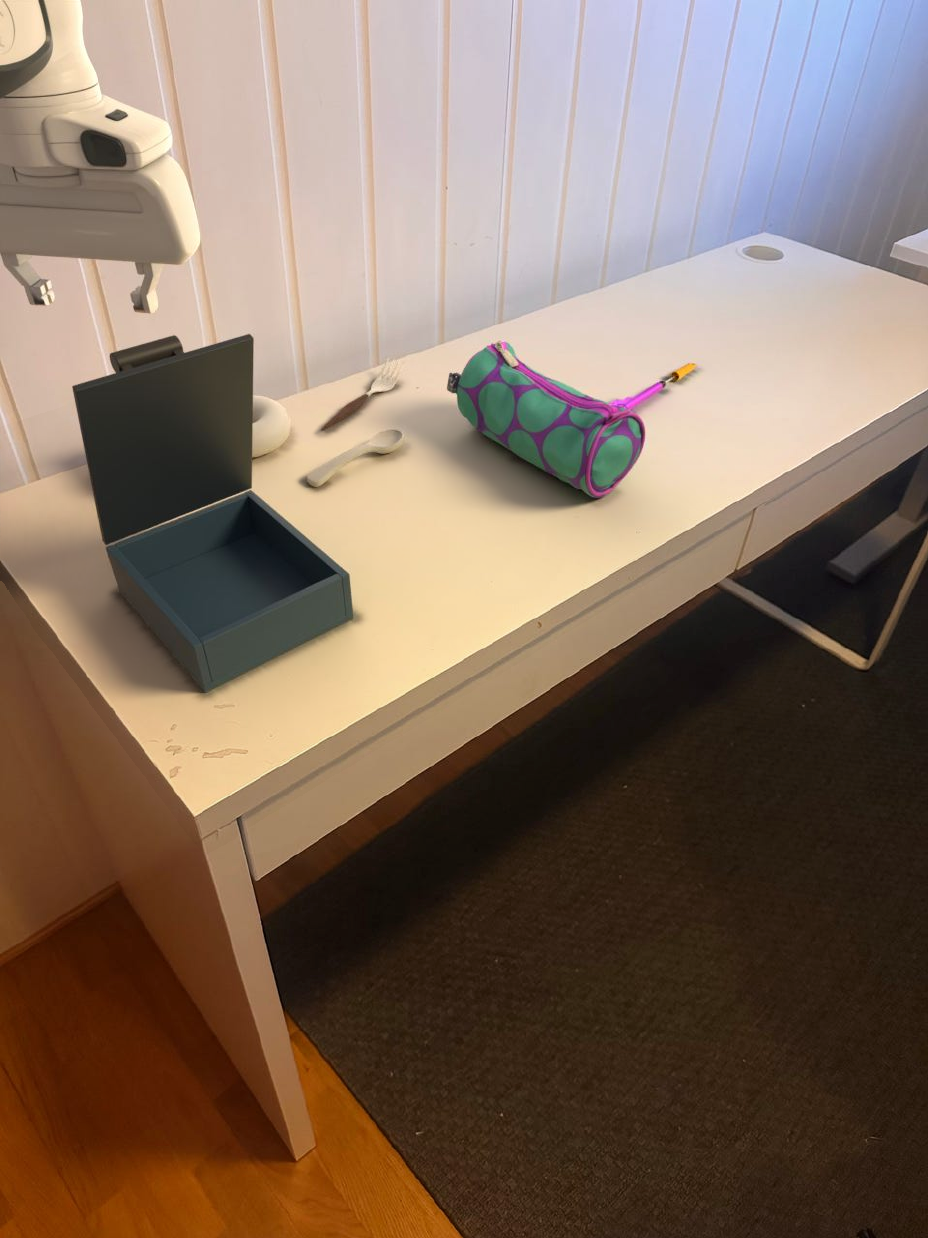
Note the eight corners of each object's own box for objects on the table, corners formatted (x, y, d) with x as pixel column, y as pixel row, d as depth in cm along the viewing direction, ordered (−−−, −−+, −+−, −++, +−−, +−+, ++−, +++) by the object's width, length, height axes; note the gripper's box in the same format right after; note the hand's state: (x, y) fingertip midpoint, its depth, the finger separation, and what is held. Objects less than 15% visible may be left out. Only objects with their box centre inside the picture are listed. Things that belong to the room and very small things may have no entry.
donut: (236, 477, 89) (312, 438, 95) (230, 447, 87) (308, 409, 92) (178, 442, 94) (253, 407, 100) (170, 413, 92) (248, 378, 97)
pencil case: (446, 430, 97) (445, 345, 90) (507, 405, 101) (511, 323, 94) (582, 517, 85) (592, 426, 78) (645, 485, 89) (660, 396, 82)
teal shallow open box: (353, 618, 73) (349, 573, 70) (205, 693, 67) (193, 647, 64) (258, 532, 82) (250, 489, 79) (119, 591, 76) (105, 546, 72)
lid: (254, 337, 66) (223, 302, 67) (75, 391, 59) (46, 350, 61) (252, 488, 79) (226, 456, 80) (105, 545, 72) (80, 509, 74)
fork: (311, 431, 96) (309, 414, 95) (388, 372, 107) (387, 356, 105) (332, 437, 95) (330, 420, 94) (406, 377, 106) (406, 361, 105)
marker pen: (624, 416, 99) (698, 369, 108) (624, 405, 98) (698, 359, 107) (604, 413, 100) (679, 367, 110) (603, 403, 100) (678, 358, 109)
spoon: (411, 446, 94) (409, 430, 92) (321, 497, 88) (318, 480, 86) (392, 436, 95) (390, 419, 94) (303, 485, 89) (299, 468, 88)
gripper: (-105, 131, 67) (-39, 313, 76) (157, 145, 65) (193, 330, 74) (-57, 112, 71) (0, 285, 80) (189, 124, 69) (219, 300, 78)
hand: (94, 306), depth 77 cm, fingers open, 8 cm apart
